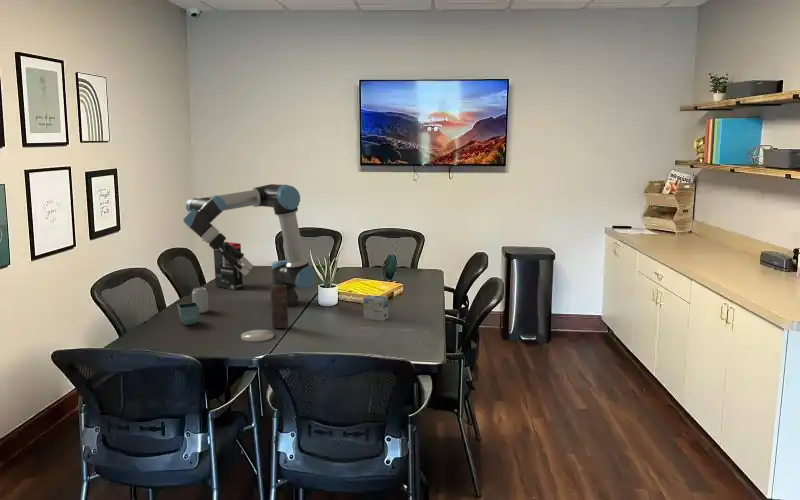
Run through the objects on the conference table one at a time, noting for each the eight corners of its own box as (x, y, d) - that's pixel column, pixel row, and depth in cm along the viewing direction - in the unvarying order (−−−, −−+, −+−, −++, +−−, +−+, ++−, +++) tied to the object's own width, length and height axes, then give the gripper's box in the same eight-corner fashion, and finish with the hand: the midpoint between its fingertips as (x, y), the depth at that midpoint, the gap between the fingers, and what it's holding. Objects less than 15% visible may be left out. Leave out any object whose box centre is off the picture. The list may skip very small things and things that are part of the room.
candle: (280, 330, 297) (278, 287, 293) (268, 328, 301) (266, 286, 297) (291, 326, 303) (290, 284, 300) (279, 324, 307) (278, 283, 304)
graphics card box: (243, 288, 384) (241, 242, 380) (235, 290, 378) (232, 244, 374) (223, 285, 393) (221, 240, 389) (214, 287, 387) (212, 241, 383)
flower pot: (181, 327, 304) (180, 308, 303) (178, 322, 312) (176, 304, 310) (200, 324, 308) (199, 306, 307) (197, 320, 316) (196, 302, 314)
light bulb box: (388, 317, 318) (388, 296, 316) (383, 321, 312) (383, 299, 310) (368, 315, 322) (368, 294, 320) (363, 319, 315) (362, 297, 314)
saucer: (266, 330, 297) (266, 328, 297) (278, 338, 286) (278, 335, 285) (236, 335, 290) (236, 333, 290) (247, 343, 278) (247, 340, 278)
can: (204, 313, 327) (202, 290, 325) (190, 313, 329) (189, 289, 327) (211, 310, 334) (210, 287, 332) (197, 309, 336) (196, 286, 334)
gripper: (213, 240, 304) (247, 271, 308) (202, 248, 280) (239, 282, 283) (224, 228, 304) (258, 260, 307) (214, 236, 279) (251, 270, 283)
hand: (249, 270), depth 295 cm, fingers open, 13 cm apart
